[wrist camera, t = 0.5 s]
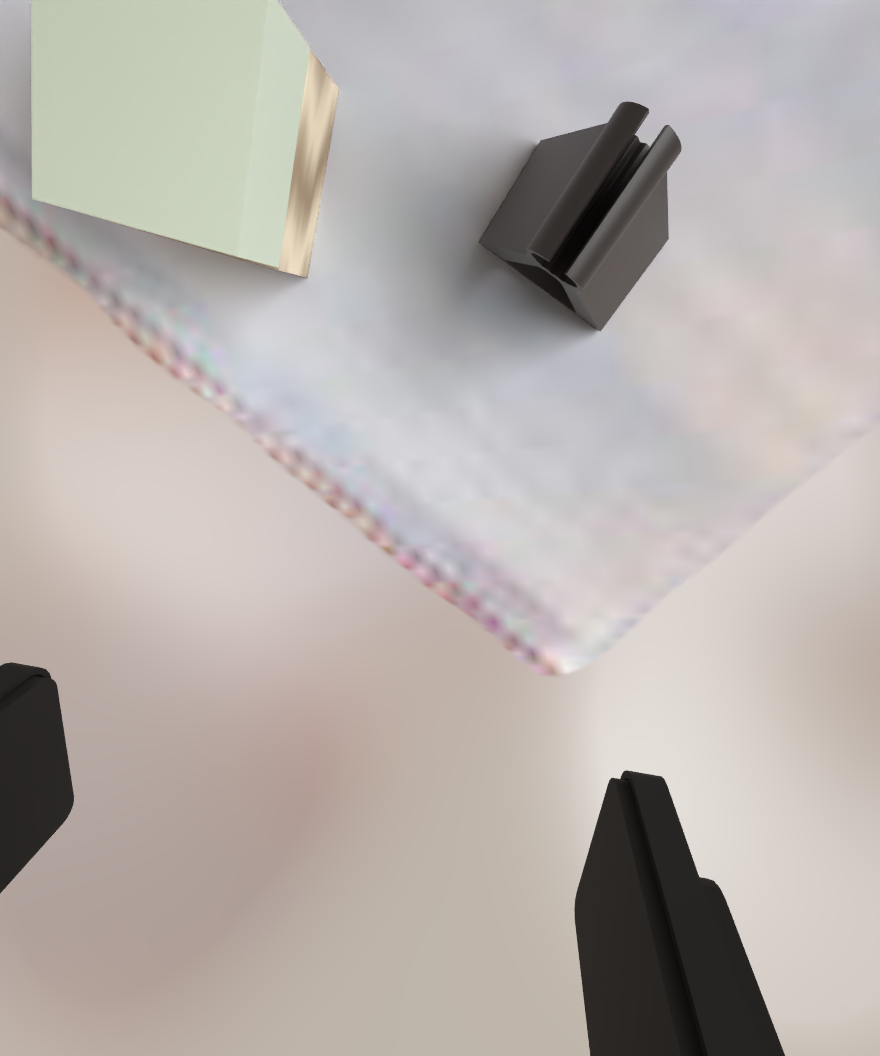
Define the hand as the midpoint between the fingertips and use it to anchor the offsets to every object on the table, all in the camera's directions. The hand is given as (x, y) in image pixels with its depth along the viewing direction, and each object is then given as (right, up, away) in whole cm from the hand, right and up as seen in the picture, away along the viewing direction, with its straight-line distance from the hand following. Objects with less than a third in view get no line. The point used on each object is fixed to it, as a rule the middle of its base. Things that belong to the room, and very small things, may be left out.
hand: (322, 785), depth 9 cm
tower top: (-10, +24, +19) cm, 33 cm away
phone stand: (+10, +21, +23) cm, 33 cm away
